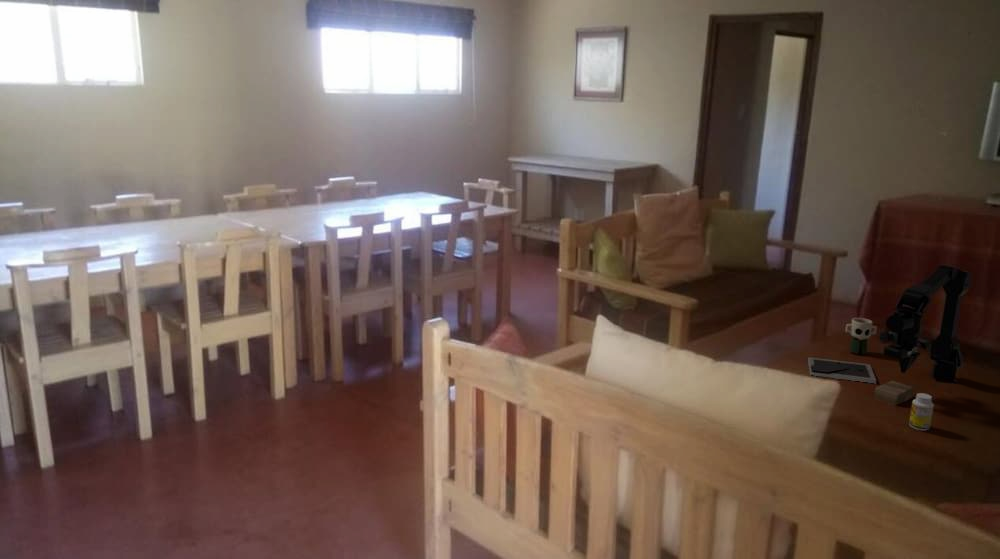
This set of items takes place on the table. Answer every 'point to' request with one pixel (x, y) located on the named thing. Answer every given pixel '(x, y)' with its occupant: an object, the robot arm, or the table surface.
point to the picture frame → (841, 370)
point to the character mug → (860, 334)
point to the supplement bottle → (921, 412)
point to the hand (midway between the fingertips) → (903, 372)
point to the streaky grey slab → (893, 392)
